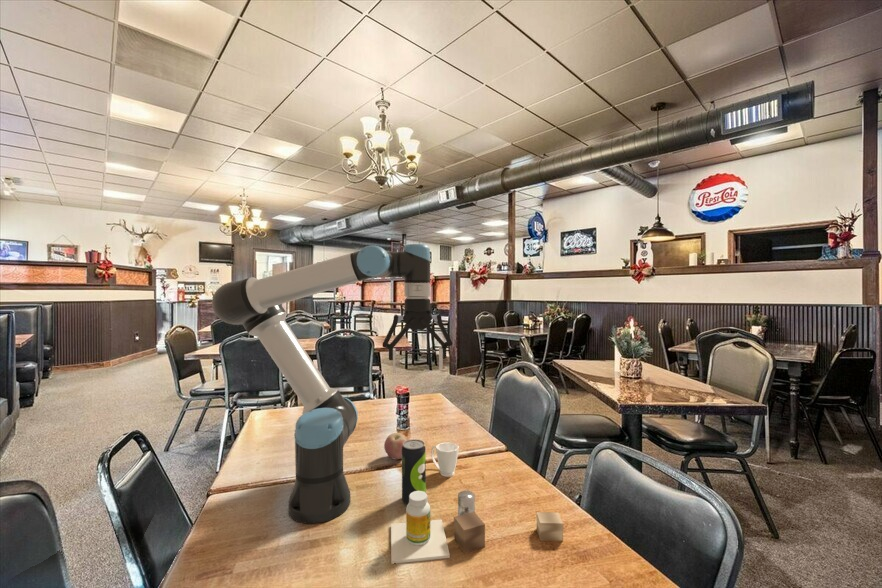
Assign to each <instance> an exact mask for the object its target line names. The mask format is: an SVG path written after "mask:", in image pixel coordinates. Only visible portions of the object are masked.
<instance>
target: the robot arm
mask: <svg viewBox="0 0 882 588" xmlns="http://www.w3.org/2000/svg"><path fill="white" fill-rule="evenodd" d="M377 278H381V279H382V278H403V279H404V281H403V282H404V284H403V285H404V291H403V292H404V297H405V299H404V300H403V301H404V305H403V306H404V313H403V315H400V314H399V315H398V314H394V316H393V321H392V324H391V326H390V328H389V330H388V332H387V334H386V335H385V338H384V340H383V342H382V347H383V348H384V349H387V350H388V360H389V361H392V374H393V373H396V371H397V369H396V365H397V364H396V359H397V358H396V357H397V356H396V353H397V352H396V348H394V347H396V345H397V344H398V343H399V342H400V340H401V339H402V338H403V337H404V336H405V335H406V333H407V332H408V331H409V330H412V331H417V330H418V331H424V330H425V329H426V330H427V331H428V332H429V333H430V334H431V336H432V337H433V338H434V339H435V340H436V341H437V343H438V344H439V345H440V346H439V347H438V369H439V371H440V372H443V370H444V367H443V365H444V362H443V361H444V360H446V359H447V348H448V347H450V346H453V341H452V340H451V337H450V336H449V334H448V331H447V329H446V327H445V325H444V324H443V320H442V315H441V314H440V313H436V314H431V299H430V298H429V297H431V251H430V247H429V245H427V244H424V243H422V244H421V243H412V244H411V243H410V244H409V243H407V244H405V245H404V248H403V251H402V250H401V251H387V250H386V249H385V248H383V247H381V246H379V245H373V244H372V245H366V246H365V247H362V248H361V249H360V250H358V251H355V252H351V253H347V254H343V255H339V256H337V257H332V258H329V259H326V260H322V261H319V262H316V263H312V264H309V265H305V266H301V267H298V268H295V269H291V270H287V271H285V272H280V273H277V274H273V275H270V276H266V277H262V278H259V279H258V278H256V277H254V276H253V277H248V278H244V279H240V280H234V281H230V282H227V283H224V284H222V285H221V286H220V287H218V289H216V290H215V292H214V294H213V297H212V300H211V306H212V310H213V313H214V314H215V315H216V316H217V318H218V319H219V320H221V321H222V322H224V323H226V324H230V325H234V326H235V325H238V326H239V325H241V326H242V327H244V329H245V330H246V332H247V334H248V335H249V336H253V337H257V338H258V339H259V341H260V342H261V344H262V346H263V348H265V350H266V352H267V353H268V355H269V356H270V358H271V359H272V360H273V362H274V363H275V365H276V366H277V368H278V369H279V371H280V373H281V374H282V375H283V377H284V379H285V380H286V381H287V383H288V384H289V386H290V388H291V389H292V391H293V392H294V393H295V395H296V396H297V397H298V399H299V400H300V402H301V403H302V405H303V409H302V412H301V413H302V415H300V416H299V417H298V419H297V420H296V422H295V429H294V435H293V436H294V453H295V455H294V458H295V460H294V461H295V480H294V485H293V487H292V490H291V493H290V496H289V499H288V505H287V506H288V515H289V517H290V519H292V520H293V521H295V522H297V523H301V524H312V525H313V524H321V523H324V522H328V521H331V520H333V519H335V518H337V517H339V516H340V515H343V513H345V512H346V511H347V510H348V508H349V507H350V505H351V490H350V488H349V485H348V482H347V478H346V476H345V473H344V446H345V444H346V443H347V442H348V439H349V438H350V437H351V435H352V434H353V433H354V431H355V429H356V428H357V427H356V426H357V423H358V416H359V415H358V414H359V413H358V409H357V407H356V405H355V404H354V402H353V401H352V400H351V399H349V398H347V397H344V396H343V395H342V394H341V392H340V391H339V389H338V388H333V387H330V385H329V384H328V382H327V381H326V380H325V378H324V376H323V375H322V373H321V371H319V369H318V367H317V366H316V365H315V363H314V361H313V360H312V359H311V357H310V356H309V354H308V352H307V351H306V349H305V348H304V347H303V346H302V345H303V344H301V342H300V341H299V339H298V338H297V336H296V334H295V333H294V331H293V330H292V328H291V327H290V325H289V324H288V323H287V322H286V318H287V312H286V309H285V308H284V307H283V304H285V303H289V302H294V301H296V300H301V299H302V298H306V297H309V296H314V295H317V294H320V293H324V292H327V291H331V290H334V289H337V288H341V287H344V286H348V285H352V284H355V283H358V282H362V281H367V280H371V279H377ZM402 320H403V322H404V323H405V325H404V326H403V328H402V329H401V330H400V331H399V333H398V334H397V335H396V336H395V338H393V339H392V341H391V342H390V340H391V337H392V336H393V333H394V332H395V329H396V328H397V325H398V324H399V323H401V321H402ZM432 321H434V323H437V326H438V328H439V330H440V332H441V334H442V335H443V338H444V339H445V342H444V341H443V339H442V338H441V337H440V336H439V335H438V334H437V332H436V331H435V329H433V328H432V327H431V326H430V323H431V322H432ZM389 342H390V343H389Z"/></svg>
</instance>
